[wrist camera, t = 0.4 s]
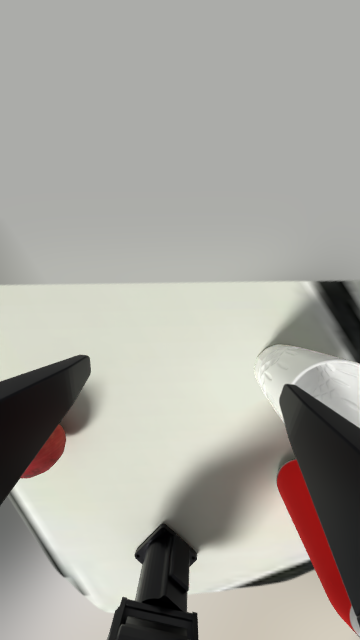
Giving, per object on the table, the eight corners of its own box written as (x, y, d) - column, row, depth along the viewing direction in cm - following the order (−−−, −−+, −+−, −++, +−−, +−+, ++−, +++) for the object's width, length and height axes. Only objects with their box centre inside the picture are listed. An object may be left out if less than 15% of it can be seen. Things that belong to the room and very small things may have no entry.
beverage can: (263, 478, 26) (323, 623, 14) (294, 443, 25) (382, 564, 13) (301, 506, 26) (393, 679, 14) (332, 472, 25) (457, 621, 13)
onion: (85, 439, 27) (40, 492, 20) (51, 453, 28) (-6, 510, 20) (67, 402, 27) (15, 440, 19) (34, 417, 28) (-31, 461, 20)
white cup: (244, 344, 25) (277, 367, 15) (307, 334, 24) (385, 352, 14) (254, 403, 25) (292, 463, 15) (316, 395, 25) (398, 452, 15)
